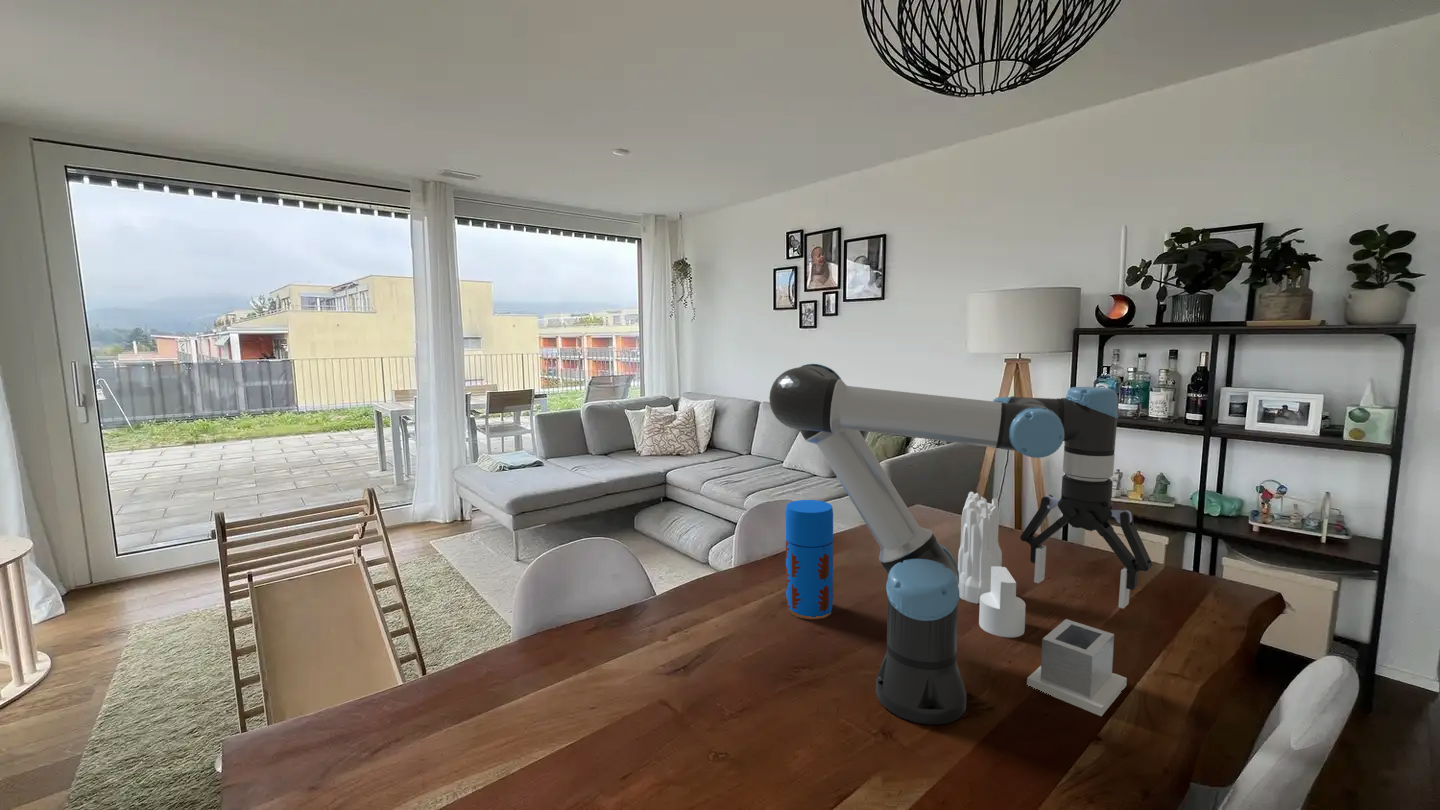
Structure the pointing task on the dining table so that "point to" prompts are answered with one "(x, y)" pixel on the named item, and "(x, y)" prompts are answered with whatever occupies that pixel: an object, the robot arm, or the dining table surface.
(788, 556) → the thermos
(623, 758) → the dining table surface
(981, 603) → the cylinder with rectangular tab
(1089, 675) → the steel link
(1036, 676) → the keeper board
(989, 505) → the decorative vase
